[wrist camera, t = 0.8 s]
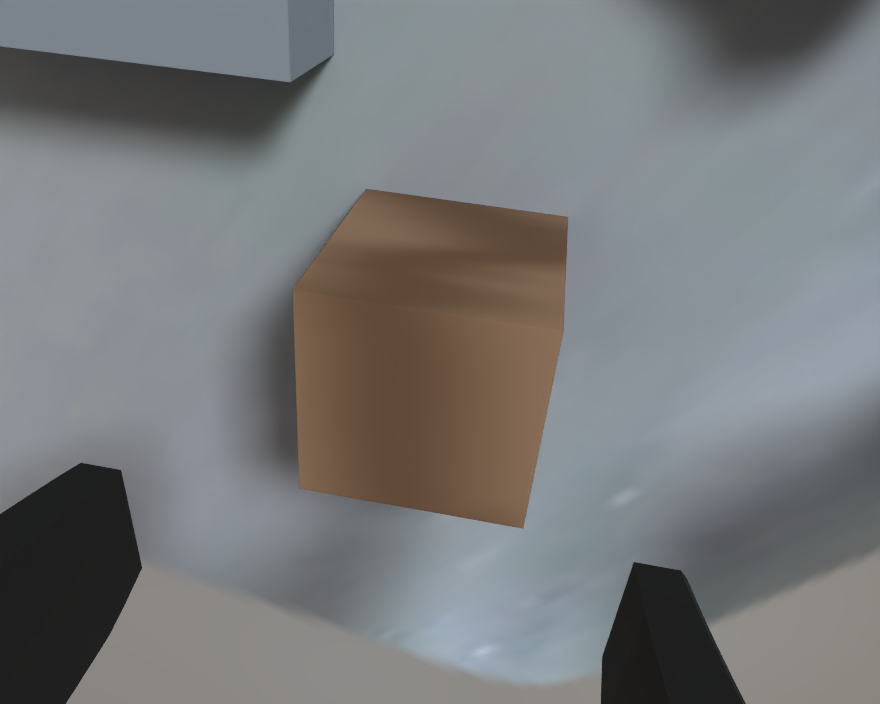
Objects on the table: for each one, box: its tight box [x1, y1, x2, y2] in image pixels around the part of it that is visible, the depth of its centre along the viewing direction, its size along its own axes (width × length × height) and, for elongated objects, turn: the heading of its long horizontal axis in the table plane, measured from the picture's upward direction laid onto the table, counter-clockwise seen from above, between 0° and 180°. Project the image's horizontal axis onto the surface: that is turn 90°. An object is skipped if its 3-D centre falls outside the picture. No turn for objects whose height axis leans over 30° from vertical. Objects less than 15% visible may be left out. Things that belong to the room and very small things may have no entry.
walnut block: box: [293, 189, 568, 528], centre depth 15 cm, size 4×4×5 cm
